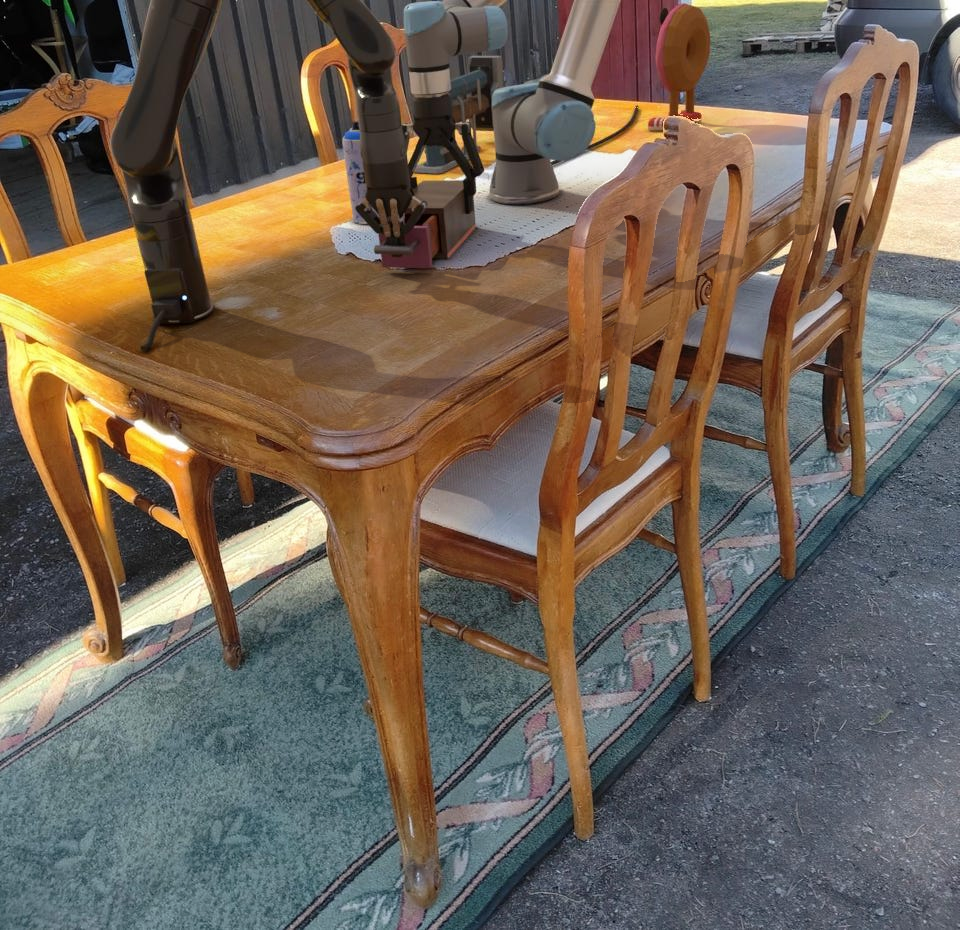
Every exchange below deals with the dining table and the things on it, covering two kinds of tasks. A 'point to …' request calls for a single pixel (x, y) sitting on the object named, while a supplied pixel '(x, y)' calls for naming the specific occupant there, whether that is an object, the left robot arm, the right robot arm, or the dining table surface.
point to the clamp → (468, 108)
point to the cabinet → (447, 212)
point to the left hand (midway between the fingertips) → (397, 255)
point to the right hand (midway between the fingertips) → (442, 211)
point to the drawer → (413, 245)
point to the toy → (681, 57)
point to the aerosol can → (355, 170)
